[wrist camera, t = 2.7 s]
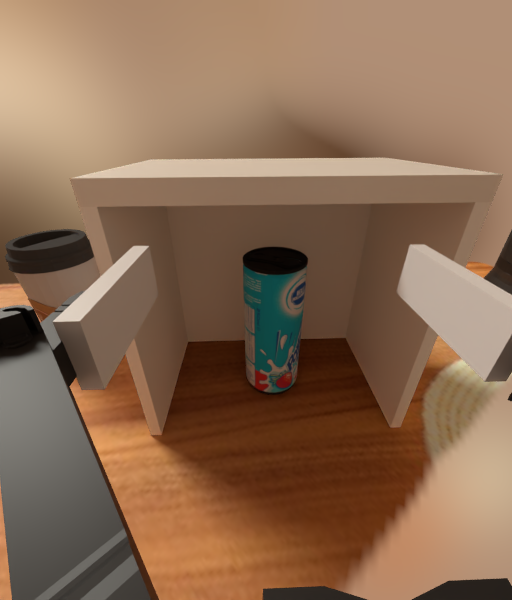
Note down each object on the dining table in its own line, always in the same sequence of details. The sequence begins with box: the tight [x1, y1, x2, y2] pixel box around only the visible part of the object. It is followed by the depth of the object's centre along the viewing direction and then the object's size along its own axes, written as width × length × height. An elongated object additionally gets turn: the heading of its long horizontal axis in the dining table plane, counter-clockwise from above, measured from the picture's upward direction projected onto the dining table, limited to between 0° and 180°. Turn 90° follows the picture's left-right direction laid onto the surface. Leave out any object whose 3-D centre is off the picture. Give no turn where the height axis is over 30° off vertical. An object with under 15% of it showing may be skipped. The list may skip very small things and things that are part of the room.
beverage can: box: [243, 247, 308, 394], centre depth 29 cm, size 6×6×15 cm
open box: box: [70, 158, 503, 435], centre depth 27 cm, size 24×15×22 cm, turn 92°
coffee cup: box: [5, 229, 100, 322], centre depth 34 cm, size 8×8×15 cm
